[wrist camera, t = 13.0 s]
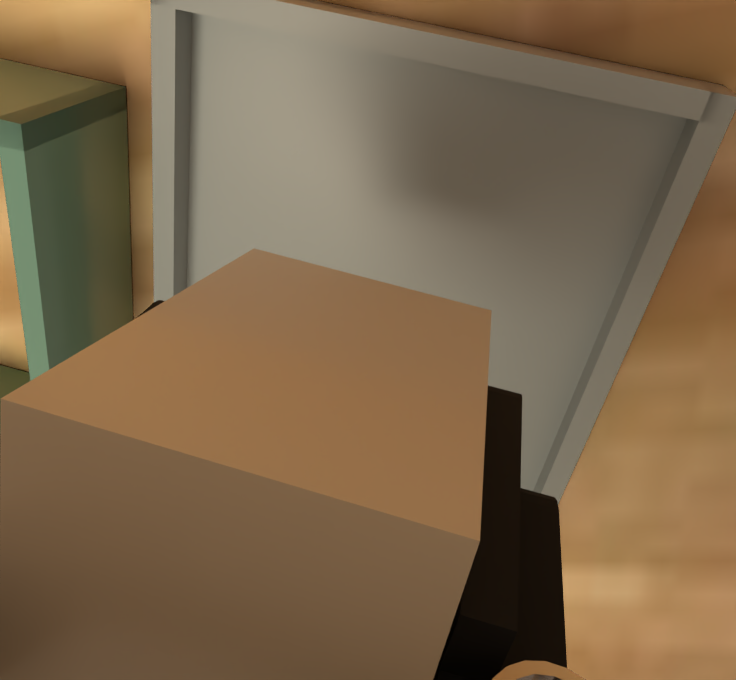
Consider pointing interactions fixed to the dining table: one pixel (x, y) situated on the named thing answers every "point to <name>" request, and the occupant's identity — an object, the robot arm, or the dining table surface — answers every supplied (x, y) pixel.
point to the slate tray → (434, 180)
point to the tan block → (248, 485)
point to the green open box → (65, 211)
